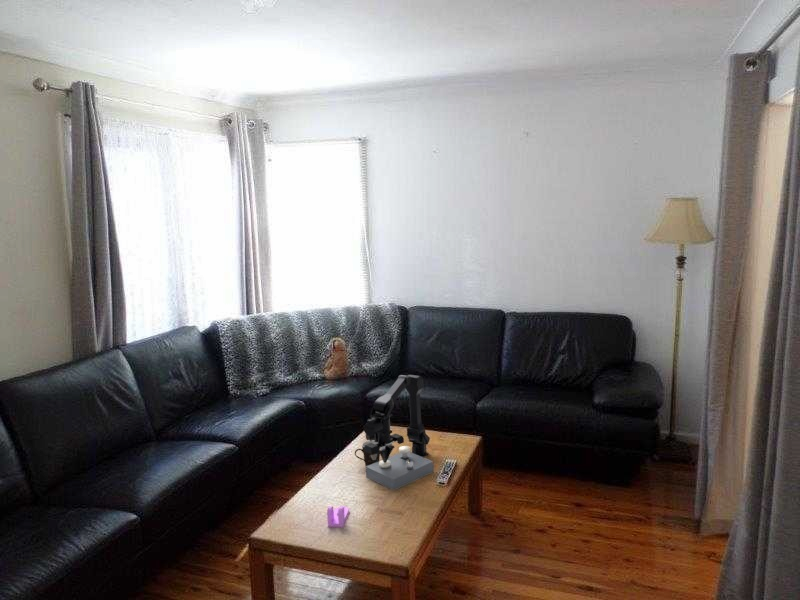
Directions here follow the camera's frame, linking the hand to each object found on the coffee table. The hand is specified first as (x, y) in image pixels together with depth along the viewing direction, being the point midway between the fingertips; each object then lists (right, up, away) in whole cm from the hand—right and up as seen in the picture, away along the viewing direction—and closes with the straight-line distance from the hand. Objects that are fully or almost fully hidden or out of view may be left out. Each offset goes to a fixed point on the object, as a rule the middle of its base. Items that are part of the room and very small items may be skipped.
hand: (384, 462), depth 256 cm
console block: (+7, -6, +3) cm, 9 cm away
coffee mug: (-8, -5, +14) cm, 17 cm away
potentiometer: (+11, -2, -3) cm, 11 cm away
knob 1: (0, -4, +1) cm, 4 cm away
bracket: (-17, -13, -32) cm, 38 cm away
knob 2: (+9, 0, +8) cm, 12 cm away
